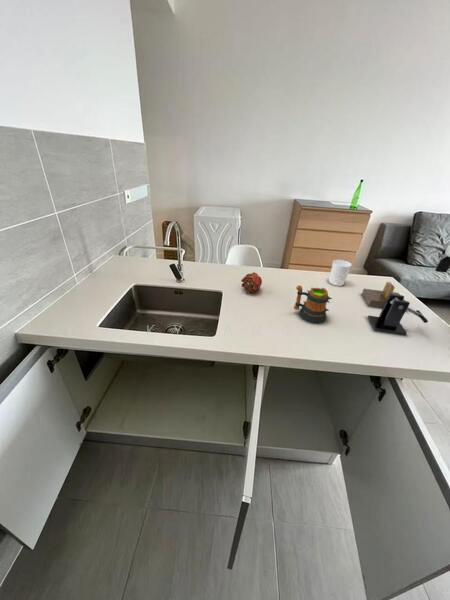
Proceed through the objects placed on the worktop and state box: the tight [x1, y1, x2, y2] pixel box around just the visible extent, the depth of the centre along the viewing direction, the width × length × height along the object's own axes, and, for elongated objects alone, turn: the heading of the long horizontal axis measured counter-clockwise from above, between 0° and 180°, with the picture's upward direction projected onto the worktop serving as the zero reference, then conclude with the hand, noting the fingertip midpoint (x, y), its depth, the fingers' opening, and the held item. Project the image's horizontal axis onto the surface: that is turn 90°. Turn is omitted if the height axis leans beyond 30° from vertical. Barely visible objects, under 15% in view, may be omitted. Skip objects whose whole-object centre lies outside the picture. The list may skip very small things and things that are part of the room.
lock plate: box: [361, 288, 406, 309], centre depth 101 cm, size 14×10×3 cm
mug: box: [293, 285, 333, 325], centre depth 88 cm, size 13×10×12 cm
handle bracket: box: [367, 294, 411, 336], centre depth 84 cm, size 10×8×12 cm
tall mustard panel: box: [381, 281, 396, 299], centre depth 98 cm, size 5×1×6 cm, turn 169°
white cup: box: [328, 259, 353, 287], centre depth 113 cm, size 8×8×10 cm
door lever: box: [390, 297, 429, 324], centre depth 82 cm, size 12×6×2 cm, turn 80°
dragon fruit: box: [240, 272, 263, 293], centre depth 104 cm, size 8×8×12 cm
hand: (449, 277), depth 77 cm, fingers open, 9 cm apart
